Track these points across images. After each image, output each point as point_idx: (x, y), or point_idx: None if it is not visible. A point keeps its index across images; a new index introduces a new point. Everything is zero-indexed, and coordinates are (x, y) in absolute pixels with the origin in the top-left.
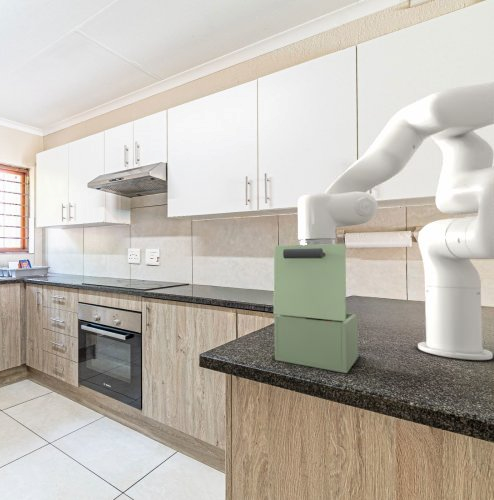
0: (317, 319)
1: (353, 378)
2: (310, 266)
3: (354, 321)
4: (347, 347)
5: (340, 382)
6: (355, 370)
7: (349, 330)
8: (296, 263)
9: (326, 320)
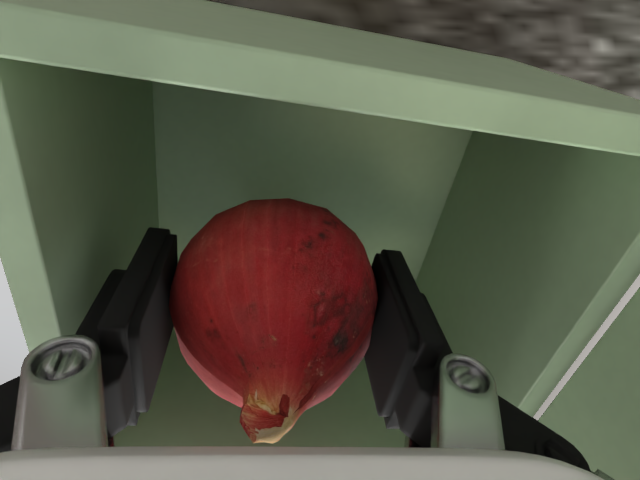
0: (433, 317)
1: (574, 30)
2: None
3: (236, 35)
4: (551, 76)
5: (636, 83)
6: (440, 16)
7: (520, 81)
8: None
9: (357, 264)
